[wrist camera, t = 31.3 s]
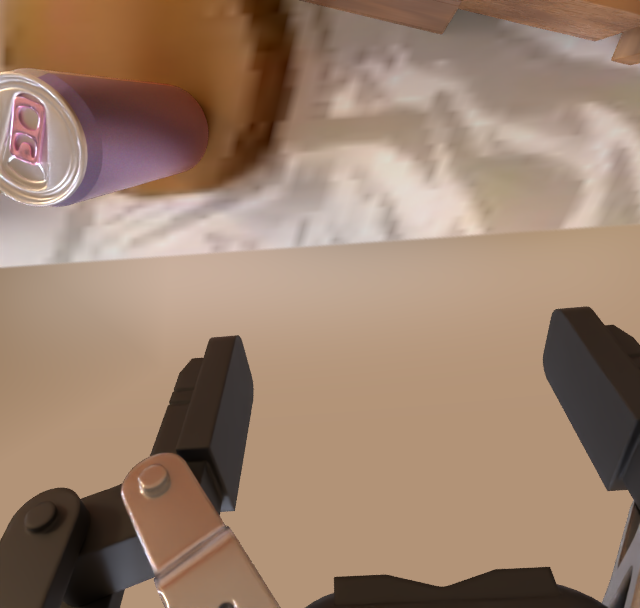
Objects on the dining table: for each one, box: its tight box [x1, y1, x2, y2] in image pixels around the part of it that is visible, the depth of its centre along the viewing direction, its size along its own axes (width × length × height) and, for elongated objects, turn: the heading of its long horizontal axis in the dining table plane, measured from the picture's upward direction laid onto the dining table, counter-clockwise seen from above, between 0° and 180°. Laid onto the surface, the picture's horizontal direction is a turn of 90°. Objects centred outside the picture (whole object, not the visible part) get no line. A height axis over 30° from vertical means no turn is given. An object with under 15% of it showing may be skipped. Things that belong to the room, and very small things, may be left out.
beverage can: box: [0, 68, 208, 207], centre depth 27 cm, size 6×6×15 cm
